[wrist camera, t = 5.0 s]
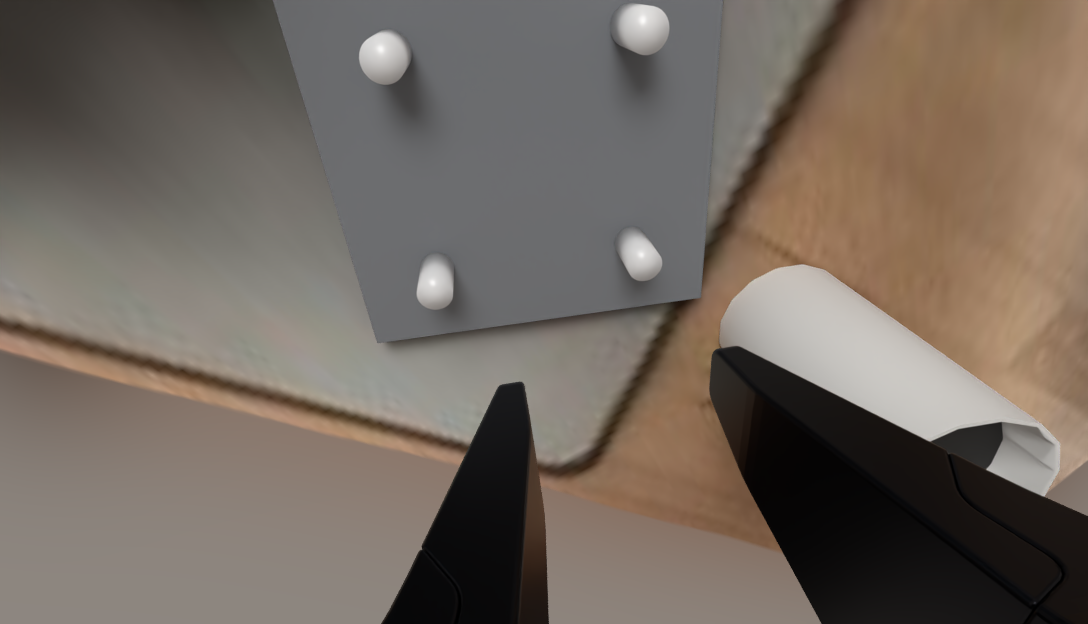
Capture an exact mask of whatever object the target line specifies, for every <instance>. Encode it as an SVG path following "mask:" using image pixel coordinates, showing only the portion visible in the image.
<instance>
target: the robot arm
mask: <svg viewBox="0 0 1088 624" xmlns="http://www.w3.org/2000/svg"><path fill="white" fill-rule="evenodd" d="M709 389H710V396H711V400H712V403H713V405H714V408H715V410H716V413H717V415H718V418H719V420H720V423H721V425H722V428H723V430H724V433H725V435H726V438H727V440H728V443H729V445H730V448H731V450H732V453H733V455H734V458H735V460H736V463H737V465H738V467H739V470H740V472H741V474H742V477H743V479H744V481H745V483H746V485H747V487H748V489H749V491H750V493H751V495H752V496H753V498H754V500H755V502H756V504H757V506H758V507H759V509H760V511H761V513H762V515H763V517H764V519H765V520H766V522H767V524H768V526H769V528H770V530H771V531H772V533H773V535H774V537H775V539H776V541H777V542H778V544H779V546H780V548H781V550H782V552H783V554H784V555H785V557H786V559H787V561H788V563H789V565H790V566H791V568H792V570H793V572H794V574H795V576H796V577H797V579H798V581H799V583H800V585H801V587H802V588H803V590H804V592H805V594H806V596H807V598H808V600H809V601H810V603H811V605H812V607H813V609H814V610H815V612H816V614H817V616H818V618H819V620H820V622H821V624H1088V516H1086V515H1084V514H1081V513H1079V512H1077V511H1075V510H1073V509H1070V508H1068V507H1066V506H1064V505H1061V504H1059V503H1057V502H1055V501H1052V500H1050V499H1048V498H1046V497H1044V496H1041V495H1039V494H1037V493H1035V492H1032V491H1030V490H1028V489H1026V488H1024V487H1021V486H1019V485H1017V484H1015V483H1013V482H1011V481H1009V480H1007V479H1005V478H1003V477H1001V476H999V475H997V474H994V473H992V472H990V471H988V470H986V469H984V468H982V467H980V466H978V465H976V464H974V463H972V462H970V461H968V460H966V459H964V458H962V457H960V456H958V455H956V454H954V453H949V454H948V452H947V450H946V449H944V448H942V447H940V446H938V445H936V444H934V443H932V442H930V441H928V440H926V439H924V438H922V437H920V436H918V435H916V434H914V433H912V432H910V431H908V430H906V429H904V428H902V427H900V426H898V425H896V424H894V423H892V422H890V421H888V420H886V419H884V418H882V417H880V416H878V415H876V414H874V413H872V412H870V411H868V410H866V409H864V408H862V407H860V406H858V405H856V404H854V403H852V402H850V401H848V400H846V399H844V398H842V397H840V396H838V395H836V394H834V393H832V392H830V391H828V390H826V389H824V388H822V387H820V386H818V385H816V384H814V383H812V382H810V381H808V380H806V379H804V378H802V377H800V376H798V375H796V374H794V373H792V372H790V371H788V370H786V369H784V368H782V367H780V366H778V365H776V364H774V363H772V362H770V361H768V360H766V359H764V358H762V357H760V356H758V355H756V354H754V353H752V352H750V351H748V350H746V349H744V348H742V347H740V346H731V347H725V348H719V349H716V350H715V351H714V352H713V354H712V360H711V373H710V387H709ZM381 624H549V617H548V589H547V559H546V529H545V514H544V506H543V499H542V492H541V486H540V479H539V473H538V466H537V460H536V453H535V447H534V441H533V434H532V428H531V421H530V415H529V409H528V404H527V398H526V392H525V386H524V384H523V383H522V382H514V383H508V384H502V385H500V386H499V387H498V388H497V390H496V392H495V394H494V396H493V398H492V401H491V403H490V405H489V407H488V409H487V411H486V413H485V415H484V417H483V419H482V421H481V423H480V426H479V428H478V430H477V432H476V434H475V436H474V438H473V440H472V442H471V444H470V446H469V448H468V451H467V453H466V455H465V457H464V459H463V461H462V463H461V465H460V467H459V469H458V472H457V473H456V476H455V478H454V480H453V482H452V484H451V486H450V488H449V490H448V492H447V494H446V496H445V498H444V501H443V503H442V505H441V507H440V509H439V511H438V513H437V515H436V517H435V519H434V521H433V523H432V526H431V528H430V530H429V532H428V534H427V536H426V538H425V540H424V542H423V544H422V550H420V551H419V552H418V554H417V556H416V558H415V560H414V562H413V565H412V567H411V569H410V571H409V573H408V575H407V577H406V579H405V581H404V583H403V585H402V587H401V589H400V590H399V592H398V594H397V596H396V598H395V600H394V602H393V604H392V606H391V608H390V610H389V612H388V613H387V615H386V617H385V618H384V620H383V622H382V623H381Z"/></svg>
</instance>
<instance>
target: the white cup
mask: <svg viewBox="0 0 1088 624" xmlns="http://www.w3.org/2000/svg"><path fill="white" fill-rule="evenodd" d="M719 343H720V345H721V348H725V347H731V346H740V347H742V348H744V349H746V350H748V351H750V352H752V353H754V354H756V355H758V356H760V357H762V358H764V359H766V360H768V361H770V362H772V363H774V364H776V365H778V366H780V367H782V368H784V369H786V370H788V371H790V372H792V373H794V374H796V375H798V376H800V377H802V378H804V379H806V380H808V381H810V382H812V383H814V384H816V385H818V386H820V387H822V388H824V389H826V390H828V391H830V392H832V393H834V394H836V395H838V396H840V397H842V398H844V399H846V400H848V401H850V402H852V403H854V404H856V405H858V406H860V407H862V408H864V409H866V410H868V411H870V412H872V413H874V414H876V415H878V416H880V417H882V418H884V419H886V420H888V421H890V422H892V423H894V424H896V425H898V426H900V427H902V428H904V429H906V430H908V431H910V432H912V433H914V434H916V435H918V436H920V437H922V438H924V439H926V440H928V441H930V442H932V443H934V444H936V445H938V446H940V447H942V448H944V449H946V450H947V452H948V454H949V453H954V454H956V455H958V456H960V457H962V458H964V459H966V460H968V461H970V462H972V463H974V464H976V465H978V466H980V467H982V468H984V469H986V470H988V471H990V472H992V473H994V474H997V475H999V476H1001V477H1003V478H1005V479H1007V480H1009V481H1011V482H1013V483H1015V484H1017V485H1019V486H1021V487H1024V488H1026V489H1028V490H1030V491H1032V492H1035V493H1037V494H1039V495H1041V496H1045V494H1046V492H1047V491H1048V489H1049V487H1050V486H1051V484H1052V482H1053V480H1054V479H1055V477H1056V475H1057V474H1058V472H1059V470H1060V442H1059V441H1058V440H1057V439H1056V438H1055V437H1054V436H1053V435H1052V434H1051V433H1050V432H1049V431H1048V430H1047V429H1046V428H1045V427H1044V426H1043V425H1042V424H1041V423H1040V422H1038V421H1037V420H1035V419H1034V418H1033V417H1031V416H1030V415H1028V414H1027V413H1026V412H1024V411H1023V410H1021V409H1020V408H1019V407H1017V406H1016V405H1014V404H1013V403H1011V402H1010V401H1009V400H1007V399H1006V398H1004V397H1003V396H1002V395H1000V394H999V393H997V392H996V391H995V390H993V389H992V388H990V387H989V386H987V385H986V384H985V383H983V382H982V381H980V380H979V379H978V378H976V377H975V376H973V375H972V374H971V373H969V372H968V371H966V370H965V369H964V368H962V367H961V366H959V365H958V364H956V363H955V362H954V361H952V360H951V359H949V358H948V357H947V356H945V355H944V354H942V353H941V352H940V351H938V350H937V349H935V348H934V347H932V346H931V345H930V344H928V343H927V342H925V341H924V340H923V339H921V338H920V337H918V336H917V335H916V334H914V333H913V332H911V331H910V330H908V329H907V328H906V327H904V326H903V325H901V324H900V323H899V322H897V321H896V320H894V319H893V318H892V317H890V316H889V315H887V314H886V313H885V312H883V311H882V310H880V309H879V308H877V307H876V306H875V305H873V304H872V303H870V302H869V301H868V300H866V299H865V298H863V297H862V296H861V295H859V294H858V293H856V292H855V291H853V290H852V289H851V288H849V287H848V286H846V285H845V284H844V283H842V282H841V281H839V280H838V279H837V278H835V277H834V276H832V275H831V274H830V273H828V272H827V271H825V270H823V269H819V268H815V267H811V266H807V265H803V264H802V265H795V266H789V267H782V268H776V269H774V270H772V271H770V272H768V273H766V274H764V275H762V276H760V277H758V278H756V279H754V280H752V281H751V282H750V283H749V284H748V285H747V286H746V287H745V288H744V289H743V290H742V291H741V292H740V293H739V294H738V295H736V296H735V297H734V298H733V299H732V301H731V303H730V305H729V307H728V309H727V310H726V312H725V314H724V316H723V318H722V320H721V325H720V336H719Z"/></svg>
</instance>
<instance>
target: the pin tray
mask: <svg viewBox="0 0 1088 624" xmlns="http://www.w3.org/2000/svg"><path fill="white" fill-rule="evenodd" d="M273 3H274V6H275V9H276V12H277V16H278V19H279V22H280V26H281V29H282V32H283V35H284V39H285V42H286V45H287V49H288V52H289V55H290V58H291V62H292V65H293V68H294V71H295V75H296V78H297V81H298V85H299V88H300V91H301V94H302V98H303V101H304V104H305V108H306V111H307V114H308V117H309V121H310V124H311V127H312V130H313V134H314V137H315V140H316V144H317V147H318V150H319V153H320V157H321V160H322V163H323V167H324V170H325V173H326V176H327V180H328V183H329V186H330V189H331V193H332V196H333V199H334V203H335V206H336V209H337V212H338V216H339V219H340V222H341V226H342V229H343V232H344V235H345V239H346V242H347V245H348V248H349V252H350V255H351V258H352V262H353V265H354V268H355V271H356V275H357V278H358V281H359V285H360V288H361V291H362V294H363V298H364V301H365V304H366V307H367V311H368V314H369V317H370V321H371V324H372V327H373V330H374V334H375V337H376V340H377V343H383V342H390V341H397V340H404V339H411V338H418V337H426V336H433V335H440V334H447V333H454V332H461V331H468V330H475V329H482V328H489V327H497V326H504V325H511V324H518V323H525V322H532V321H539V320H546V319H553V318H561V317H568V316H575V315H582V314H589V313H596V312H603V311H610V310H617V309H624V308H632V307H639V306H646V305H653V304H660V303H667V302H674V301H681V300H688V299H696V298H701V287H702V274H703V261H704V247H705V234H706V221H707V207H708V194H709V181H710V167H711V154H712V141H713V127H714V114H715V101H716V87H717V74H718V61H719V47H720V34H721V21H722V7H723V0H273Z"/></svg>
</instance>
